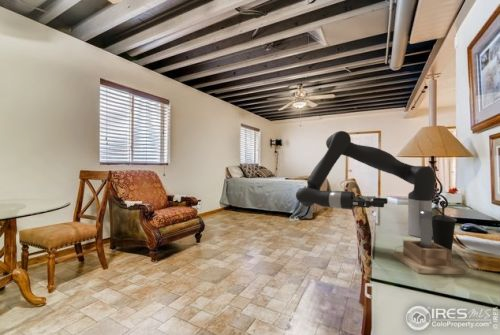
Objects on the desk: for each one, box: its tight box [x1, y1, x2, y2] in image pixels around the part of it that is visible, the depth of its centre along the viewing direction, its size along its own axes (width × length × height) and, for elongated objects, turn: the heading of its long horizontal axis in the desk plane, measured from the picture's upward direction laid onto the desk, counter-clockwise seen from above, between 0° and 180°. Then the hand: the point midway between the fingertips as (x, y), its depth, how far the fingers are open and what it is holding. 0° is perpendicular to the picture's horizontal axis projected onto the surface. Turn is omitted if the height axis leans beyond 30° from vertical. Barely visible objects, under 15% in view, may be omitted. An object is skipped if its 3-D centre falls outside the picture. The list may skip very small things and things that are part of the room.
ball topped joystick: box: [419, 210, 433, 249], centre depth 80 cm, size 4×3×17 cm
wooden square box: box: [392, 240, 466, 275], centre depth 80 cm, size 14×14×6 cm
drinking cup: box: [432, 200, 458, 253], centre depth 89 cm, size 8×8×20 cm
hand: (385, 202), depth 90 cm, fingers open, 8 cm apart
